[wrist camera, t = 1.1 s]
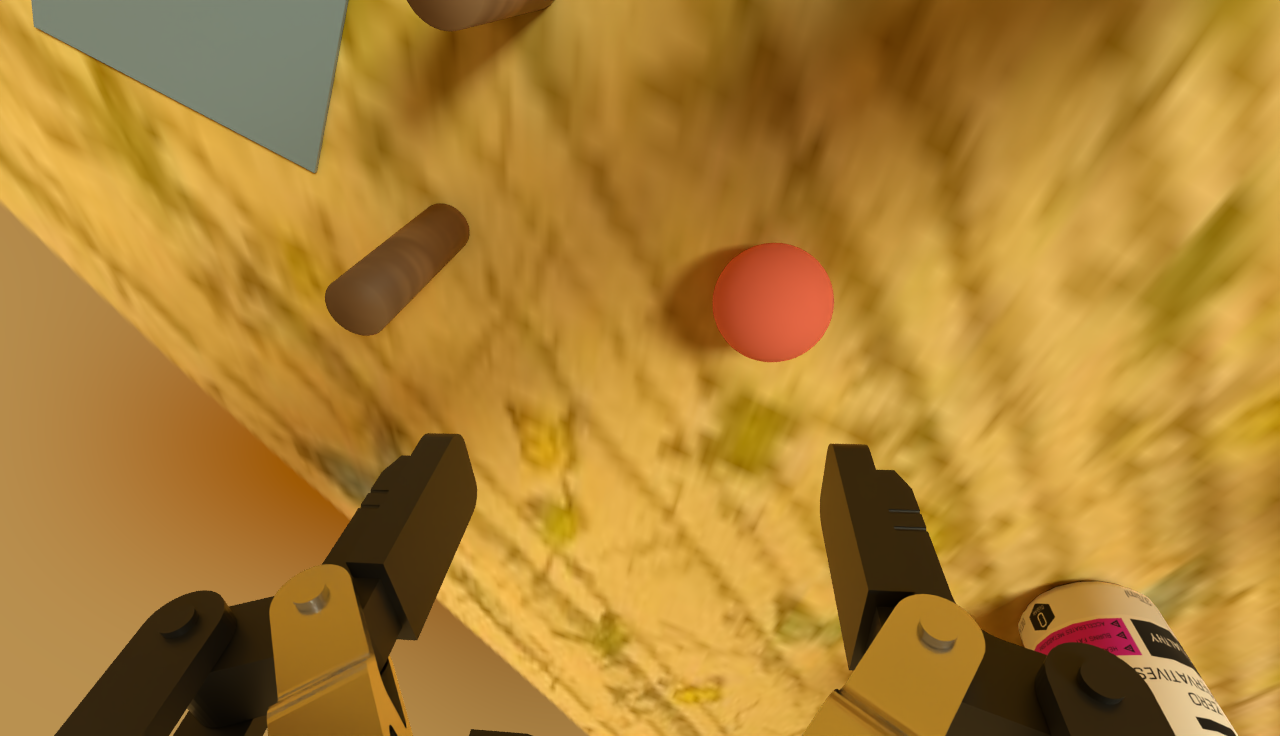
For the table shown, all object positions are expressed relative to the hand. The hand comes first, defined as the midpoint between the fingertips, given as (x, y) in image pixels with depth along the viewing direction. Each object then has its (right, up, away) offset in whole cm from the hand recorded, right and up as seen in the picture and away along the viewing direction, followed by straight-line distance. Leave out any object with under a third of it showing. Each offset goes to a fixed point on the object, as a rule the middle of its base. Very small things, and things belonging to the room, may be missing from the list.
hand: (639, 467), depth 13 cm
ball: (+6, +5, +15) cm, 17 cm away
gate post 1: (-10, +10, +19) cm, 23 cm away
